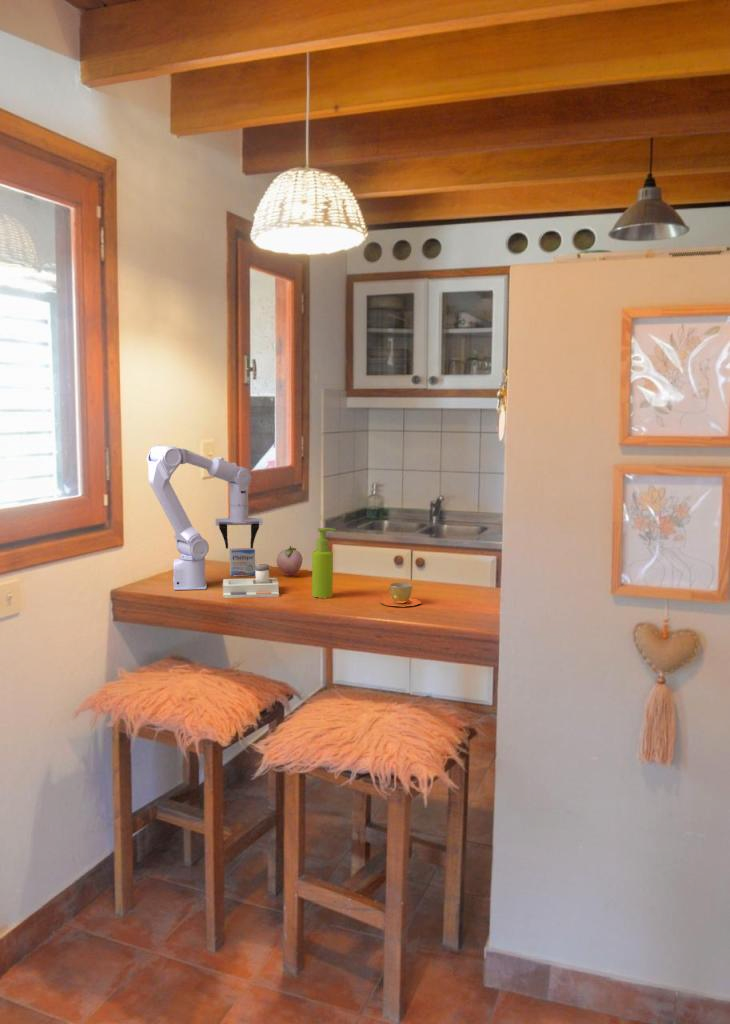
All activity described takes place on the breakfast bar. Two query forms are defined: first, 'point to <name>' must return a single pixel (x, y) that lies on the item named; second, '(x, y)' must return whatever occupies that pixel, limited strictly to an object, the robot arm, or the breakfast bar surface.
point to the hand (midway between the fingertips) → (239, 547)
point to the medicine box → (242, 561)
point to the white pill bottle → (262, 573)
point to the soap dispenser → (322, 567)
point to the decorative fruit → (289, 561)
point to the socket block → (249, 588)
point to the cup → (400, 591)
